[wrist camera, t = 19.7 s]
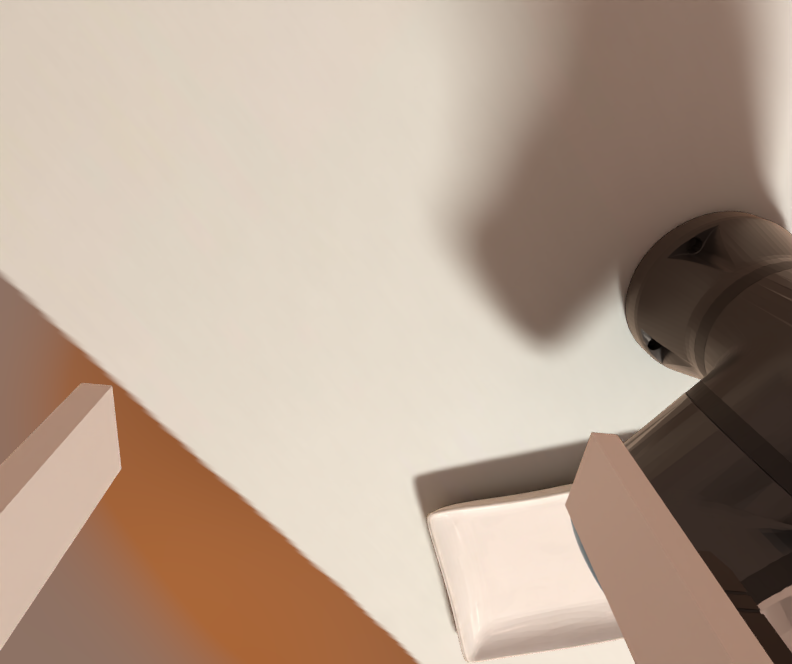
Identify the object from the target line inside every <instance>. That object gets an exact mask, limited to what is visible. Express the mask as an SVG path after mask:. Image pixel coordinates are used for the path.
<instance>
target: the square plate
mask: <svg viewBox="0 0 792 664" xmlns="http://www.w3.org/2000/svg"><path fill="white" fill-rule="evenodd" d="M572 485H573V484H568V485H563V486H558V487H553V488H548V489H543V490H538V491H532V492H527V493H521V494H515V495H509V496H502V497H496V498H489V499H482V500H475V501H469V502H464V503H458V504H454V505H450V506H446V507H443V508H440V509H438V510H435V511H434V512H431V513H430V514H428V516H427V525H428V529H429V532H430V536H431V540H432V543H433V546H434V549H435V553H436V556H437V559H438V563H439V566H440V569H441V573H442V576H443V579H444V582H445V586H446V589H447V593H448V597H449V600H450V604H451V608H452V612H453V616H454V620H455V625H456V629H457V634H458V638H459V642H460V646H461V650H462V654H463V657H464V659H465V661H467V662H472V663H474V662H481V661H487V660H494V659H501V658H507V657H515V656H521V655H528V654H535V653H542V652H548V651H555V650H561V649H567V648H574V647H580V646H586V645H592V644H598V643H603V642H608V641H614V640H619V639H624V637H623V635H622V632H621V630H620V628H619V626H618V623H617V621H616V619H615V617H614V614H613V612H612V610H611V608H610V606H609V603H608V601H607V599H606V597H605V594H604V593H603V591H602V590H601V588H600V587H599V585H598V583H597V582H596V580H595V578H594V577H593V575H592V573H591V571H590V569H589V568H588V566H587V564H586V562H585V560H584V558H583V555H582V553H581V551H580V549H579V546H578V544H577V541H576V538H575V535H574V532H573V528H572V524H571V518H570V516H569V513H568V511H567V509H566V507H565V504H566V501H567V498H568V496H569V493H570V490H571V487H572Z"/></svg>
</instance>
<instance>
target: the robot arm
mask: <svg viewBox="0 0 792 664" xmlns="http://www.w3.org/2000/svg"><path fill="white" fill-rule="evenodd" d="M626 317H627V322H628V326H629V329H630V331H631V333H632V335H633V337H634V339H635V340H636V341H637V343H638V344H639V345H640V346H641V347H642V348H643V349H644V350H645V351H646V352H647V353H648V354H649V355H650V356H651V357H652V358H653V359H655V360H656V361H657V362H659V363H660V364H662V365H664V366H665V367H667V368H670V369H672V370H675V371H678V372H681V373H683V374H686V375H689V376H692V377H695V378H698V379H701V380H700V381H699V382H698V383H697V384H696V385H694V386H693V387H692V388H691V389H690V390H688V391H687V392H686V393H684V394H683V395H682V396H680V397H679V398H678V399H677V400H676V401H674V402H673V403H672V404H671V405H670V406H668V407H667V408H666V409H665V410H664V411H662V412H661V413H660V414H659V415H658V416H656V417H655V418H654V419H653V420H652V421H650V422H649V423H648V424H647V425H645V426H644V427H643V428H642V429H641V430H639V431H638V432H637V433H636V434H634V435H633V436H632V437H631V438H629V439H628V440H627V441H626V442H624V443H623V442H622V441H621V439H620V438H619V437H618V435H615V434H605V433H594V432H591V435H590V438H589V441H588V443H587V446H586V449H585V452H584V454H583V457H582V460H581V463H580V465H579V468H578V471H577V474H576V476H575V479H574V482H573V485H572V487H571V490H570V493H569V496H568V498H567V501H566V504H565V507H566V509H567V511H568V513H569V516H570V518H571V524H572V528H573V532H574V535H575V538H576V541H577V544H578V546H579V549H580V551H581V553H582V555H583V558H584V560H585V562H586V564H587V566H588V568H589V569H590V571H591V573H592V575H593V577H594V578H595V580H596V582H597V583H598V585H599V587H600V588H601V590H602V591H603V593H604V594H605V597H606V599H607V601H608V603H609V606H610V608H611V610H612V612H613V614H614V617H615V619H616V621H617V623H618V626H619V628H620V630H621V632H622V635H623V637H624V639H625V641H626V644H627V646H628V648H629V650H630V653H631V655H632V657H633V659H634V662H635V664H792V234H791V233H790V232H788V231H787V230H786V229H784V228H783V227H781V226H780V225H778V224H776V223H774V222H772V221H769V220H767V219H764V218H761V217H758V216H755V215H752V214H749V213H744V212H736V211H725V212H716V213H711V214H707V215H703V216H700V217H697V218H695V219H692V220H690V221H688V222H686V223H684V224H682V225H680V226H678V227H677V228H675V229H674V230H672V231H671V232H669V233H668V234H666V235H665V236H664V237H663V238H662V239H660V240H659V241H658V242H657V243H656V244H655V245H654V246H653V247H652V248H651V249H650V250H649V252H648V253H647V254H646V255H645V257H644V258H643V259H642V261H641V262H640V264H639V265H638V267H637V269H636V271H635V273H634V275H633V277H632V280H631V282H630V285H629V288H628V292H627V298H626ZM120 470H121V463H120V453H119V444H118V435H117V426H116V417H115V408H114V399H113V390H112V386H108V385H98V384H87V383H81V384H80V385H79V386H78V387H77V388H76V389H75V390H74V391H73V392H72V393H71V394H70V395H69V396H68V397H67V398H66V399H65V400H64V401H63V402H62V403H61V404H60V405H59V406H58V407H57V408H56V409H55V410H54V411H53V413H51V414H50V415H49V416H48V417H47V418H46V420H45V421H44V422H43V423H42V424H41V425H40V426H39V427H38V428H37V429H36V430H35V431H34V432H33V433H32V434H31V435H30V436H29V437H28V438H27V439H26V440H25V441H24V442H23V443H22V444H21V445H20V446H19V447H18V448H17V449H16V450H15V451H14V452H13V453H12V454H11V455H10V456H9V457H8V458H7V459H6V460H5V461H4V462H3V463H2V464H1V465H0V650H1V649H2V647H3V646H4V644H5V643H6V641H7V640H8V638H9V636H10V635H11V634H12V632H13V631H14V629H15V628H16V626H17V625H18V623H19V622H20V620H21V618H22V617H23V616H24V614H25V613H26V611H27V610H28V608H29V607H30V605H31V604H32V602H33V600H34V599H35V598H36V596H37V595H38V593H39V591H40V590H41V588H42V587H43V585H44V584H45V582H46V581H47V579H48V578H49V576H50V575H51V573H52V572H53V570H54V569H55V567H56V566H57V564H58V563H59V561H60V560H61V558H62V557H63V555H64V554H65V552H66V551H67V549H68V548H69V546H70V545H71V543H72V542H73V540H74V539H75V537H76V536H77V534H78V533H79V531H80V530H81V528H82V527H83V525H84V524H85V522H86V521H87V519H88V518H89V516H90V515H91V513H92V511H93V510H94V509H95V507H96V506H97V504H98V502H99V501H100V500H101V498H102V497H103V495H104V494H105V492H106V490H107V489H108V488H109V486H110V485H111V483H112V481H113V480H114V478H115V477H116V476H117V474H118V472H119V471H120Z"/></svg>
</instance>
